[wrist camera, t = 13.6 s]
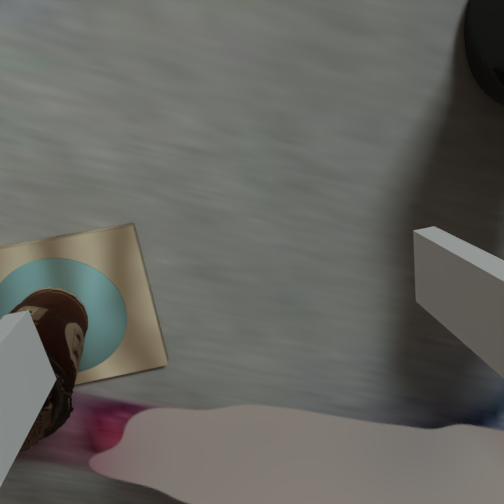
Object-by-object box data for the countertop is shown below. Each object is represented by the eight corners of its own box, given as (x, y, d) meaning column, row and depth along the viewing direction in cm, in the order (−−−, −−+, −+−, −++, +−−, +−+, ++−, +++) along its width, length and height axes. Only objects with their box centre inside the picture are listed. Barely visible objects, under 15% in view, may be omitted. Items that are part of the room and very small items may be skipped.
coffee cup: (116, 293, 39) (84, 377, 26) (90, 366, 41) (49, 475, 28) (18, 263, 36) (-66, 341, 24) (-5, 342, 38) (-93, 450, 26)
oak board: (134, 222, 38) (132, 226, 37) (168, 358, 43) (167, 366, 42) (-59, 256, 37) (-68, 262, 35) (1, 393, 42) (-5, 402, 40)
